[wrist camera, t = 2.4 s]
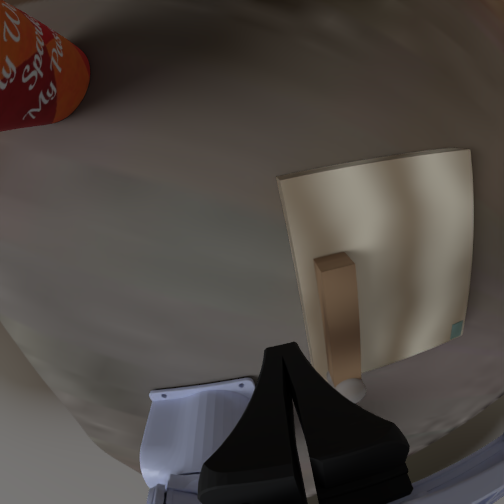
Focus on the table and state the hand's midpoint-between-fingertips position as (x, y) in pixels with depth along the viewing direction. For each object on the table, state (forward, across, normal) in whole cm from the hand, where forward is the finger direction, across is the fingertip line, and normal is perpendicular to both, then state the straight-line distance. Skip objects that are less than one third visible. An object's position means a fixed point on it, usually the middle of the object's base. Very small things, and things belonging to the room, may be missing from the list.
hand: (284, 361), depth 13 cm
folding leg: (+7, -4, +4) cm, 9 cm away
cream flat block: (+9, -9, +2) cm, 13 cm away
